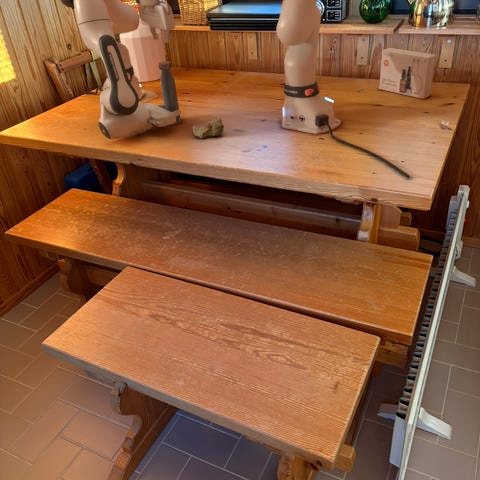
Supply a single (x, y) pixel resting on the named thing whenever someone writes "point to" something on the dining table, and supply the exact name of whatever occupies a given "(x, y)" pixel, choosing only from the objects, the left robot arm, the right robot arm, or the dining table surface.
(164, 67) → the cap
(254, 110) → the dining table surface
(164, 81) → the bottle
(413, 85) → the skincare box
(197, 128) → the rock
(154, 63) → the container
